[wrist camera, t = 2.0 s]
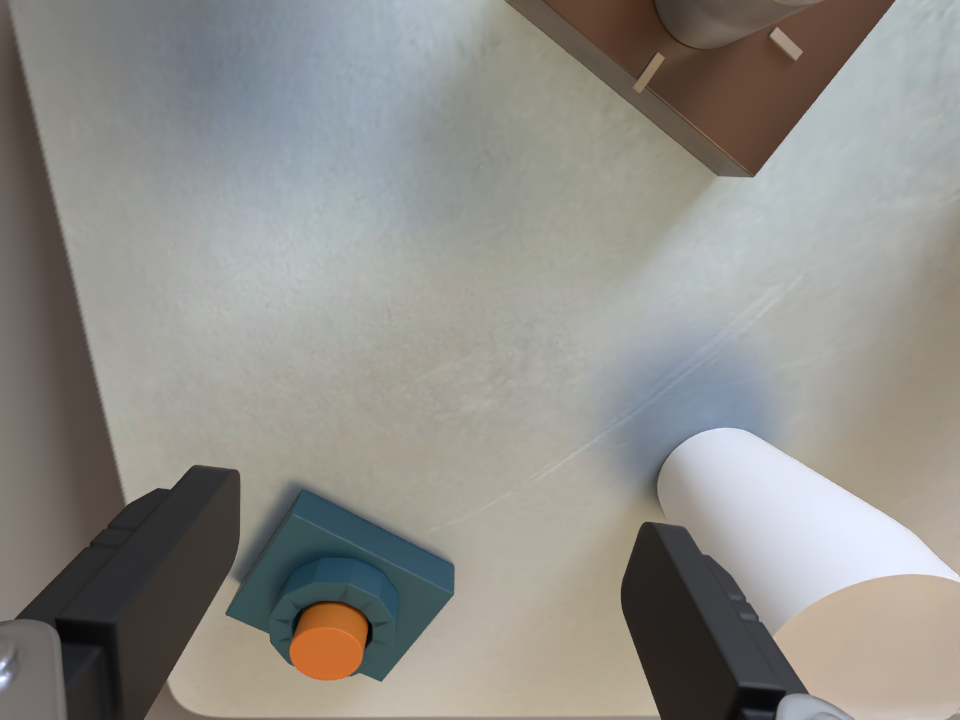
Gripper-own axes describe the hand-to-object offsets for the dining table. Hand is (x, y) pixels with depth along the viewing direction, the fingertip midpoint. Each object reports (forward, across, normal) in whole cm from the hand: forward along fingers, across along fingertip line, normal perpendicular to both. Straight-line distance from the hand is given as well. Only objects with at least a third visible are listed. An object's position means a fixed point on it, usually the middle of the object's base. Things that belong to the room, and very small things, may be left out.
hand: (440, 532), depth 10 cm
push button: (+13, +4, +17) cm, 21 cm away
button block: (+16, +4, +17) cm, 24 cm away
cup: (+16, -16, +7) cm, 24 cm away
